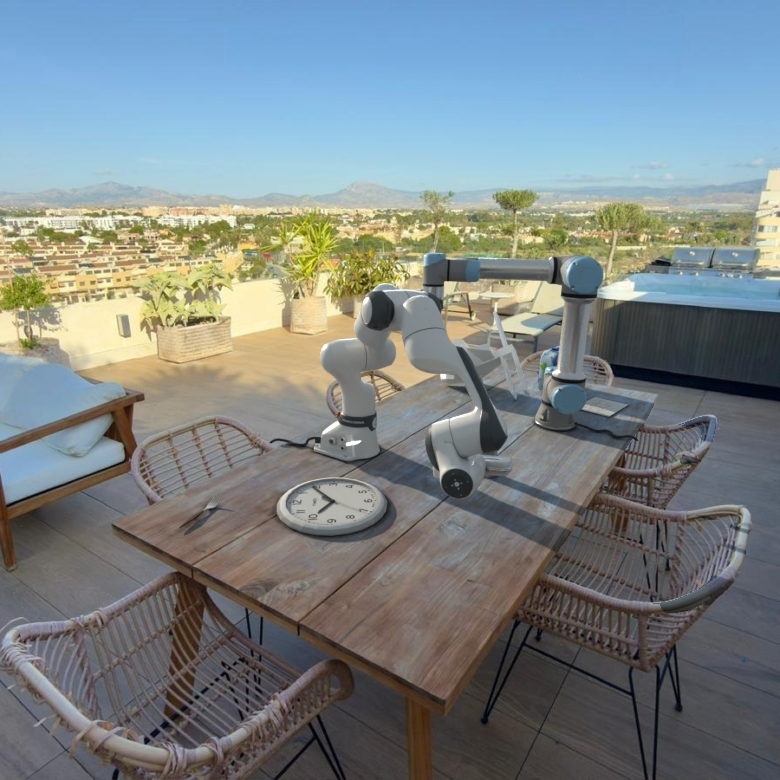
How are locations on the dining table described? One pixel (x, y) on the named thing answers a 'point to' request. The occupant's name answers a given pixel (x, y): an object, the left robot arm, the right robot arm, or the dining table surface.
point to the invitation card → (603, 406)
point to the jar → (489, 454)
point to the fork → (209, 506)
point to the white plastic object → (491, 360)
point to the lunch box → (547, 363)
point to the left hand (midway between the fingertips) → (475, 456)
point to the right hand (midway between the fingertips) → (430, 357)
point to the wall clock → (331, 506)
